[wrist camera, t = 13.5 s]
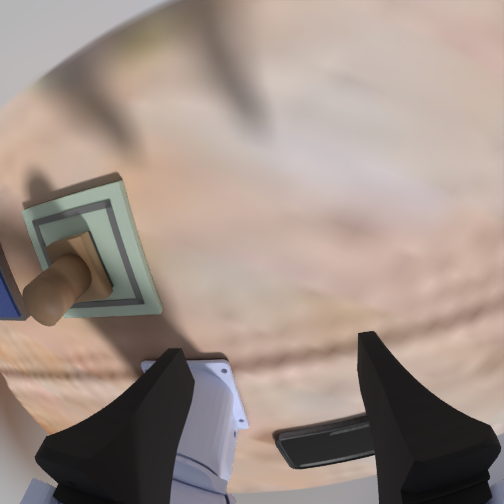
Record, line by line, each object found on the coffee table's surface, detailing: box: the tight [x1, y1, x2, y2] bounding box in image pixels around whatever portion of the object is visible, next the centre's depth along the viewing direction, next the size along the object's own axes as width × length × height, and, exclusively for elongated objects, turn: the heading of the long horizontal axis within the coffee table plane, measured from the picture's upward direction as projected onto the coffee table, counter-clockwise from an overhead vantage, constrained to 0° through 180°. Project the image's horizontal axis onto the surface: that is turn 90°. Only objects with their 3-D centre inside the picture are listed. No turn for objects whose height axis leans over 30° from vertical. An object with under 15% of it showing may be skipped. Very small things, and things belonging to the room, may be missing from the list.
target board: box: [21, 180, 163, 318], centre depth 22 cm, size 10×10×1 cm
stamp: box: [23, 231, 114, 326], centre depth 19 cm, size 5×4×6 cm
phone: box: [275, 416, 375, 469], centre depth 29 cm, size 8×1×15 cm
